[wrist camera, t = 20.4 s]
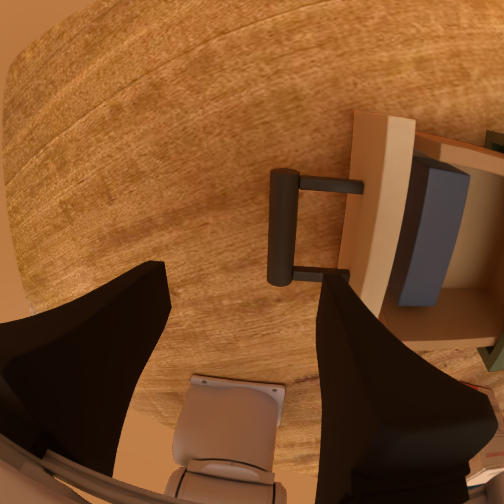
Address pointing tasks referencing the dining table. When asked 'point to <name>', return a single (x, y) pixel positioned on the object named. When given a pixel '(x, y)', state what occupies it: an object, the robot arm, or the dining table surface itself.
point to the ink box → (488, 449)
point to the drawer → (388, 229)
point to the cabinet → (500, 354)
